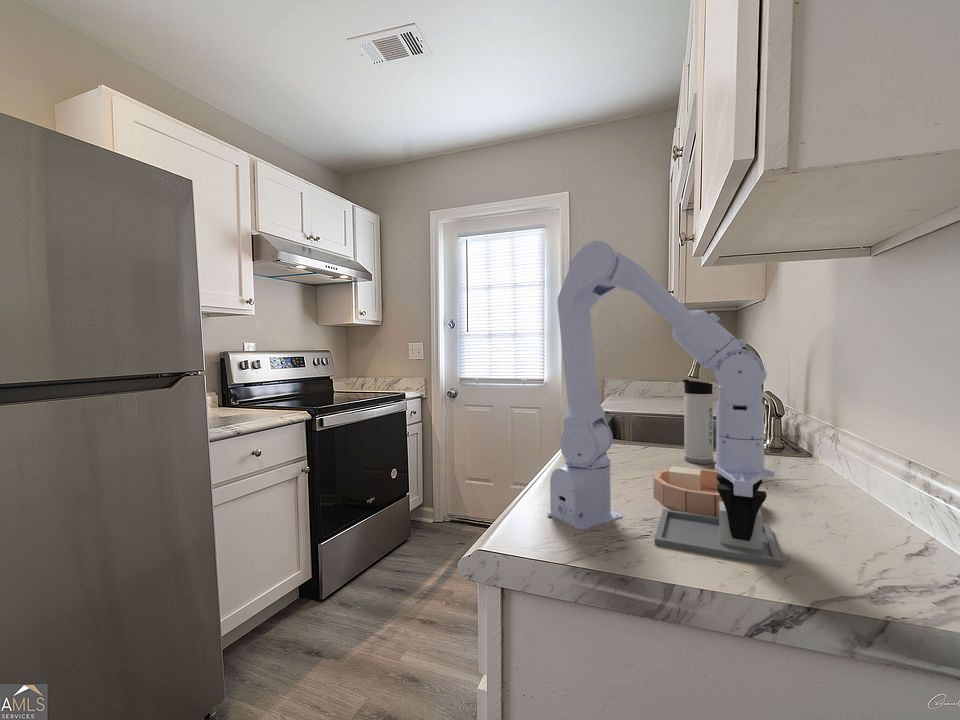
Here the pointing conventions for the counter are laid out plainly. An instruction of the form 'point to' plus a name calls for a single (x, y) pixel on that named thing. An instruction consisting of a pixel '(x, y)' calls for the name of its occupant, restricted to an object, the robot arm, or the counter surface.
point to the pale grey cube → (726, 538)
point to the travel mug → (698, 422)
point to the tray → (711, 538)
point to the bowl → (689, 494)
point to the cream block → (685, 478)
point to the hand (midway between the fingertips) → (739, 532)
